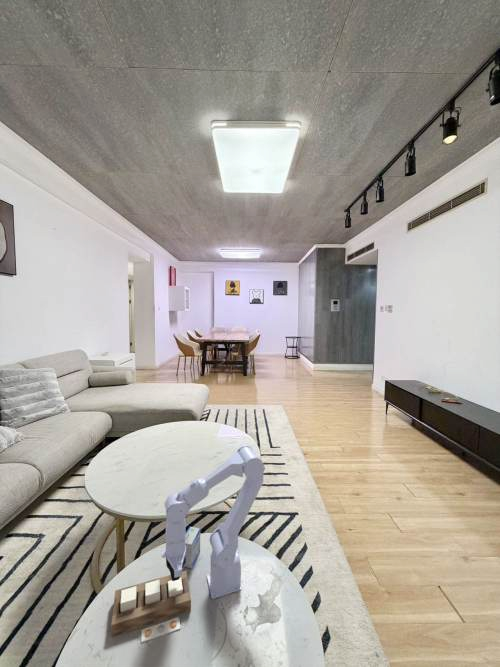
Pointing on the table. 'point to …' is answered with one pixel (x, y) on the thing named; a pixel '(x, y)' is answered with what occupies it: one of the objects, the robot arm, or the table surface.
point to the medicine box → (192, 546)
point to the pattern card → (160, 629)
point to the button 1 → (128, 599)
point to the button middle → (152, 592)
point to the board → (150, 606)
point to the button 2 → (175, 588)
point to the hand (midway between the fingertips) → (175, 578)
